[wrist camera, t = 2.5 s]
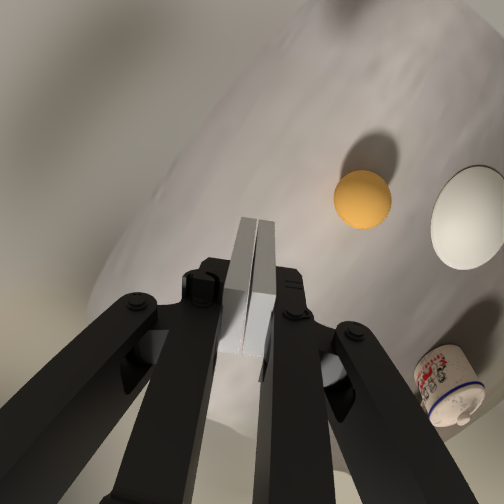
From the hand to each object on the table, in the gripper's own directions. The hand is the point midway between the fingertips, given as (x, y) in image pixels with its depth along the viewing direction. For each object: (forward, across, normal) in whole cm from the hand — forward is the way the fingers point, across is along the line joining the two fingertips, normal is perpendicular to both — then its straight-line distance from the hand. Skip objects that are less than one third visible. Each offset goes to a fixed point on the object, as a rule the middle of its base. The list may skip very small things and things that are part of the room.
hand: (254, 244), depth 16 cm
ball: (+14, -10, 0) cm, 17 cm away
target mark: (+16, -26, 0) cm, 30 cm away
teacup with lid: (+17, -30, +24) cm, 42 cm away
